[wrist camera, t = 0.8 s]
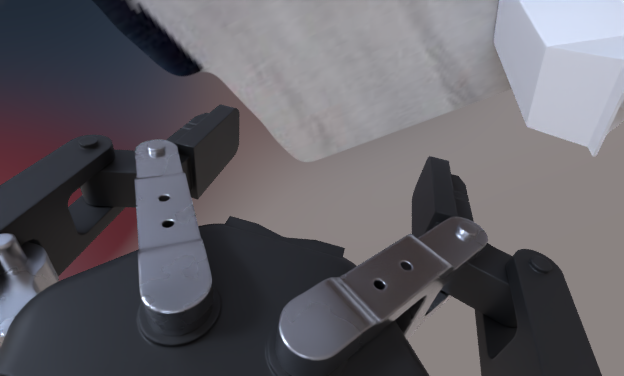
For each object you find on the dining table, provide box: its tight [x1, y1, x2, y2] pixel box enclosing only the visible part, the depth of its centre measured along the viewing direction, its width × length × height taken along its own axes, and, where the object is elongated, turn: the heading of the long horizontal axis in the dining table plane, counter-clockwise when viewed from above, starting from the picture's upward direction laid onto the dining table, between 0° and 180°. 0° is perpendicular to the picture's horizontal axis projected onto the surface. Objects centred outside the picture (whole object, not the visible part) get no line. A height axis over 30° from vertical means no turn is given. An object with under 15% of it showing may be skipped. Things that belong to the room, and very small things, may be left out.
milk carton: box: [494, 0, 624, 156], centre depth 29 cm, size 7×7×19 cm
